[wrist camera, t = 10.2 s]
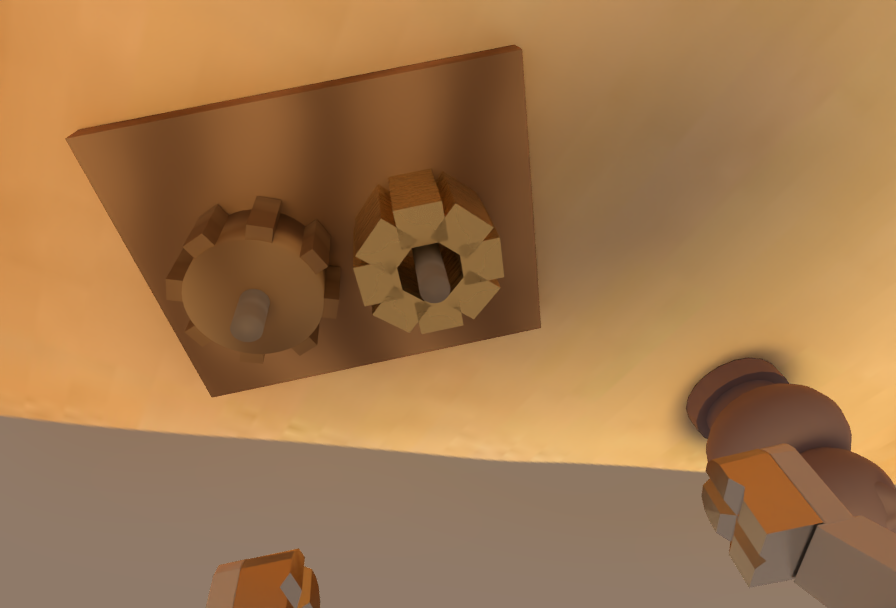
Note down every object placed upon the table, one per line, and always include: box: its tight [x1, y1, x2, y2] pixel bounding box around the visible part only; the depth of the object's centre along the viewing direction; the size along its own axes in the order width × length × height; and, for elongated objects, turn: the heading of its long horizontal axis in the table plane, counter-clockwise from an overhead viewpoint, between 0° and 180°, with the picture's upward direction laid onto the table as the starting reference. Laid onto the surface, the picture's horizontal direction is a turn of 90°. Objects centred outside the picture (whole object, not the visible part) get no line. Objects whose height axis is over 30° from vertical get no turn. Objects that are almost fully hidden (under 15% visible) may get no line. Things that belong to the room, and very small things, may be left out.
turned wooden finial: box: [686, 358, 896, 534], centre depth 31 cm, size 8×8×12 cm
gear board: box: [66, 45, 541, 397], centre depth 23 cm, size 18×14×6 cm
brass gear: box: [353, 168, 504, 334], centre depth 23 cm, size 6×6×4 cm
